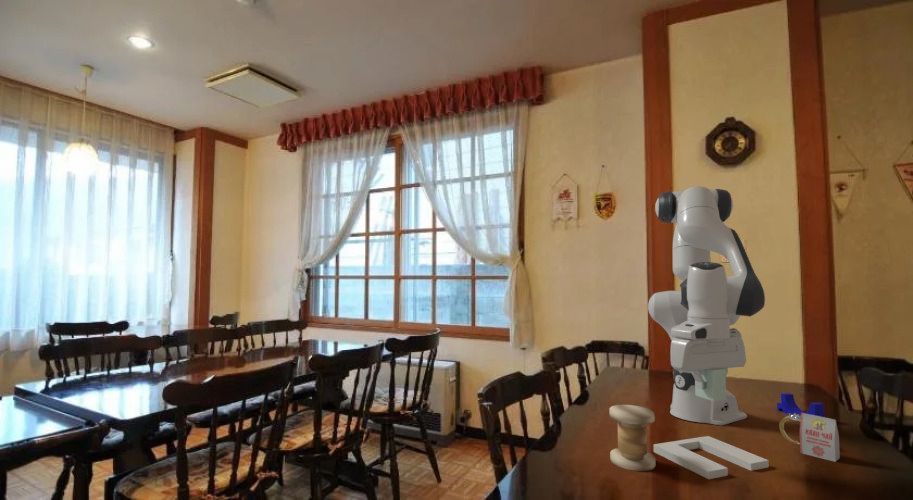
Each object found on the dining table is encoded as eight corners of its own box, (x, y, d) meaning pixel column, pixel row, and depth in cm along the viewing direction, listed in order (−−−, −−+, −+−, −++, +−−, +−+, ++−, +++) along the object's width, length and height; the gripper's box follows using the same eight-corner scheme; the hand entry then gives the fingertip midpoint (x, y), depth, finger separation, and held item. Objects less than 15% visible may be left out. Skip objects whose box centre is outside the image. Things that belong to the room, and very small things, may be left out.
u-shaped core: (708, 443, 116) (708, 435, 116) (768, 469, 101) (768, 460, 101) (653, 452, 110) (653, 444, 110) (708, 481, 95) (708, 471, 95)
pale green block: (708, 394, 108) (707, 365, 109) (726, 399, 103) (725, 369, 104) (695, 395, 107) (694, 366, 107) (713, 401, 102) (712, 370, 103)
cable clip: (777, 412, 143) (776, 393, 143) (790, 412, 143) (789, 393, 144) (811, 425, 131) (810, 404, 131) (824, 424, 131) (823, 404, 132)
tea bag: (805, 451, 111) (803, 411, 111) (840, 460, 105) (837, 418, 106) (800, 455, 109) (798, 414, 109) (835, 464, 103) (833, 421, 104)
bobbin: (634, 451, 111) (633, 403, 111) (665, 468, 101) (664, 415, 102) (601, 456, 108) (600, 406, 108) (629, 474, 98) (628, 419, 99)
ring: (815, 448, 113) (813, 416, 113) (808, 450, 111) (807, 418, 112) (784, 439, 119) (783, 409, 119) (778, 441, 117) (776, 411, 118)
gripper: (728, 326, 112) (730, 381, 112) (665, 329, 106) (666, 387, 105) (752, 329, 107) (754, 387, 106) (686, 332, 100) (688, 394, 99)
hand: (710, 387), depth 105 cm, fingers closed on pale green block, 4 cm apart
